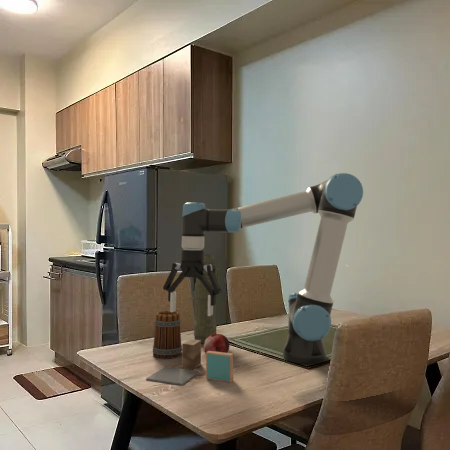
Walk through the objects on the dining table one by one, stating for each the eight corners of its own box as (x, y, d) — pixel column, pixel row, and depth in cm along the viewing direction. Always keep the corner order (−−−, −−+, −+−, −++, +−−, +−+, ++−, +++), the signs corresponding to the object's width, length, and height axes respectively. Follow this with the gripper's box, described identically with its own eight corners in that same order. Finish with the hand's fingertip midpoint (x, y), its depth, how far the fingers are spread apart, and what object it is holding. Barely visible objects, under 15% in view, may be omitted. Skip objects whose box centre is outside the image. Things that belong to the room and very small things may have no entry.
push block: (200, 364, 146) (201, 340, 146) (193, 369, 140) (193, 344, 140) (189, 362, 147) (190, 339, 147) (182, 368, 142) (182, 343, 142)
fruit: (232, 355, 157) (233, 327, 157) (224, 363, 148) (224, 333, 148) (209, 352, 160) (209, 325, 160) (199, 359, 151) (199, 331, 151)
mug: (176, 359, 150) (177, 316, 150) (148, 357, 152) (148, 314, 152) (189, 347, 166) (189, 308, 166) (163, 345, 168) (163, 306, 168)
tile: (232, 380, 131) (233, 353, 131) (230, 382, 129) (230, 355, 129) (208, 376, 134) (208, 350, 134) (205, 378, 132) (205, 352, 132)
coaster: (199, 372, 137) (199, 371, 137) (182, 385, 126) (182, 383, 126) (165, 367, 142) (165, 366, 142) (146, 379, 130) (146, 378, 130)
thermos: (214, 345, 168) (215, 255, 168) (187, 342, 173) (188, 254, 173) (222, 340, 177) (224, 254, 177) (196, 337, 181) (197, 253, 181)
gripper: (232, 250, 143) (230, 314, 143) (164, 247, 152) (163, 308, 152) (224, 251, 136) (222, 319, 136) (154, 248, 145) (152, 311, 145)
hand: (191, 313), depth 144 cm, fingers open, 13 cm apart
